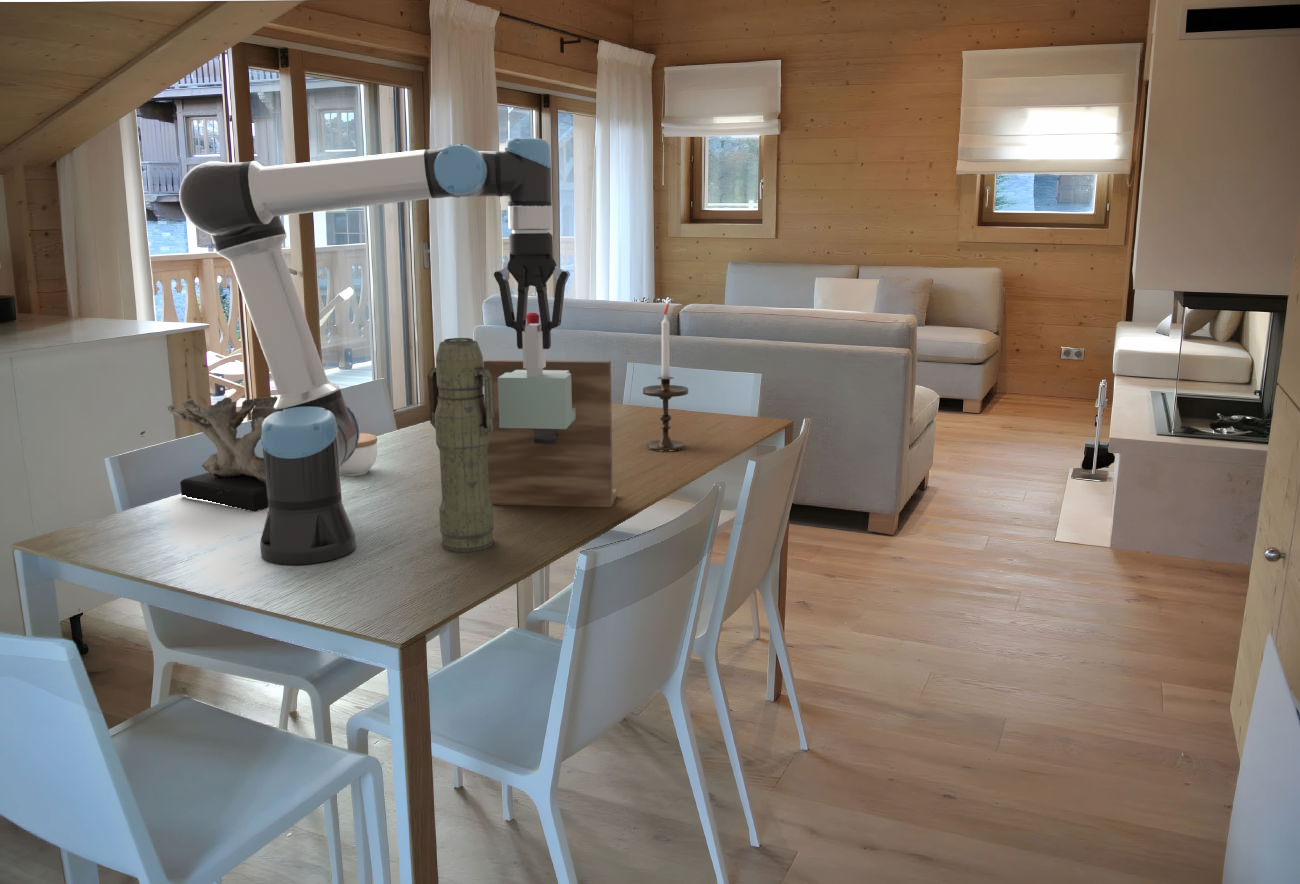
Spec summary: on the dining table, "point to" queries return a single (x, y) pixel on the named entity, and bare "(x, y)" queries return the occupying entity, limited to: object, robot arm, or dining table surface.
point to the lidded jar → (361, 456)
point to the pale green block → (535, 393)
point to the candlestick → (665, 394)
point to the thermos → (463, 443)
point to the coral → (229, 453)
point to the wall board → (556, 445)
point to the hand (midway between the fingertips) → (534, 367)
